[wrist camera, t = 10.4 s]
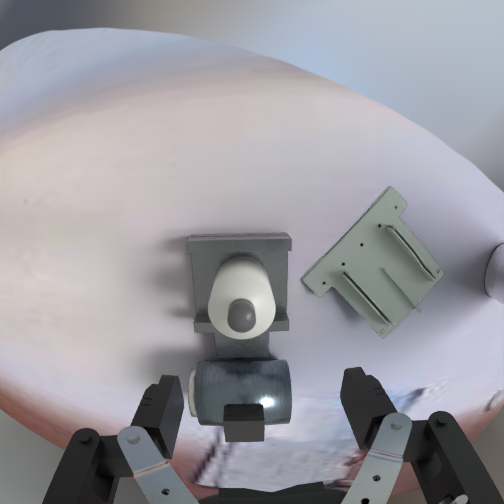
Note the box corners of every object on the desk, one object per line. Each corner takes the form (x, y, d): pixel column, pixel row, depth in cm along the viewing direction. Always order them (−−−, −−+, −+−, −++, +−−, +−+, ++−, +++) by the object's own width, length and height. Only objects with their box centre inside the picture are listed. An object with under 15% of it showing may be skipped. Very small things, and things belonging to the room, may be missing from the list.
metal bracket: (464, 267, 26) (378, 361, 28) (443, 263, 32) (368, 343, 34) (388, 174, 27) (293, 273, 29) (375, 184, 33) (294, 268, 35)
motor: (286, 232, 30) (308, 257, 20) (281, 393, 35) (290, 450, 25) (182, 235, 29) (154, 260, 20) (200, 395, 35) (191, 451, 25)
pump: (268, 255, 29) (278, 285, 21) (268, 305, 31) (277, 349, 22) (213, 256, 29) (202, 287, 21) (216, 306, 30) (208, 350, 22)
